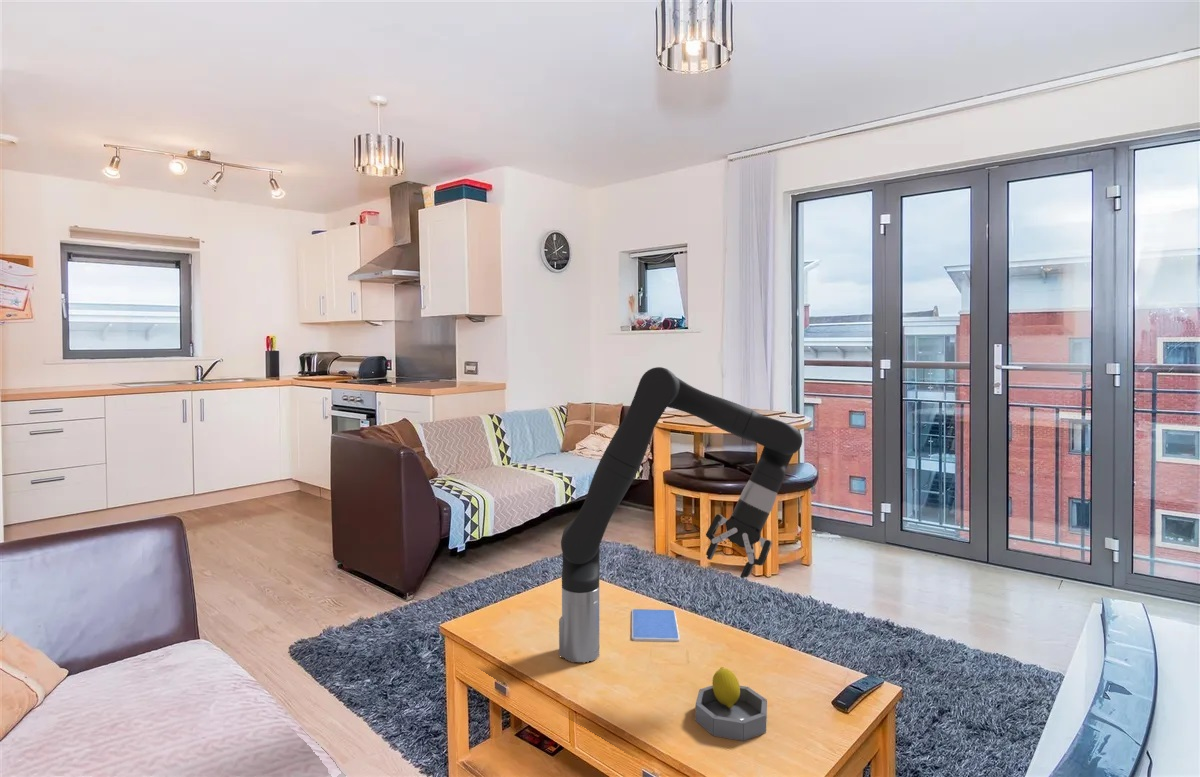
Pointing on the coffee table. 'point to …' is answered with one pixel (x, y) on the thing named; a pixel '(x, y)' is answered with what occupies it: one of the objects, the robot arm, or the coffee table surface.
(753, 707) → the bowl
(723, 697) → the lemon
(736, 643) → the coffee table surface
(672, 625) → the tablet computer
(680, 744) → the coffee table surface
